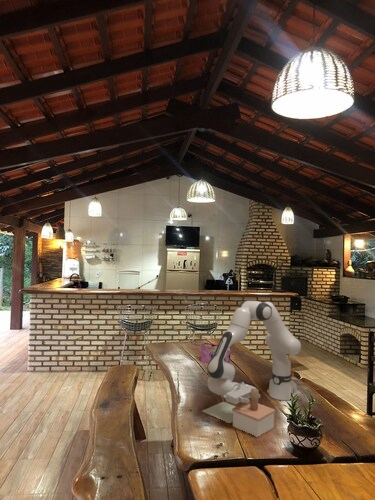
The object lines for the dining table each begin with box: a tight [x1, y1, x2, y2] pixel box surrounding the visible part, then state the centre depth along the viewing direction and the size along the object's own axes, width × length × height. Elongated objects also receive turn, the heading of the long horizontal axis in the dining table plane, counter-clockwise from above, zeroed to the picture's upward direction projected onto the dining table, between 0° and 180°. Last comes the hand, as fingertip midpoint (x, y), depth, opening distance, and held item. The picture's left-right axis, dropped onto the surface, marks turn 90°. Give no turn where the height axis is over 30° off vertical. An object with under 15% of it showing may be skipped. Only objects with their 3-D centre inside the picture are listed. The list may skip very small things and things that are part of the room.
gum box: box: [200, 342, 232, 364], centre depth 301 cm, size 24×8×14 cm, turn 61°
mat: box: [201, 401, 236, 424], centre depth 211 cm, size 19×19×1 cm
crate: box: [232, 411, 275, 438], centre depth 195 cm, size 15×15×8 cm
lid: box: [232, 388, 277, 422], centre depth 195 cm, size 16×16×13 cm
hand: (254, 399), depth 195 cm, fingers open, 8 cm apart
